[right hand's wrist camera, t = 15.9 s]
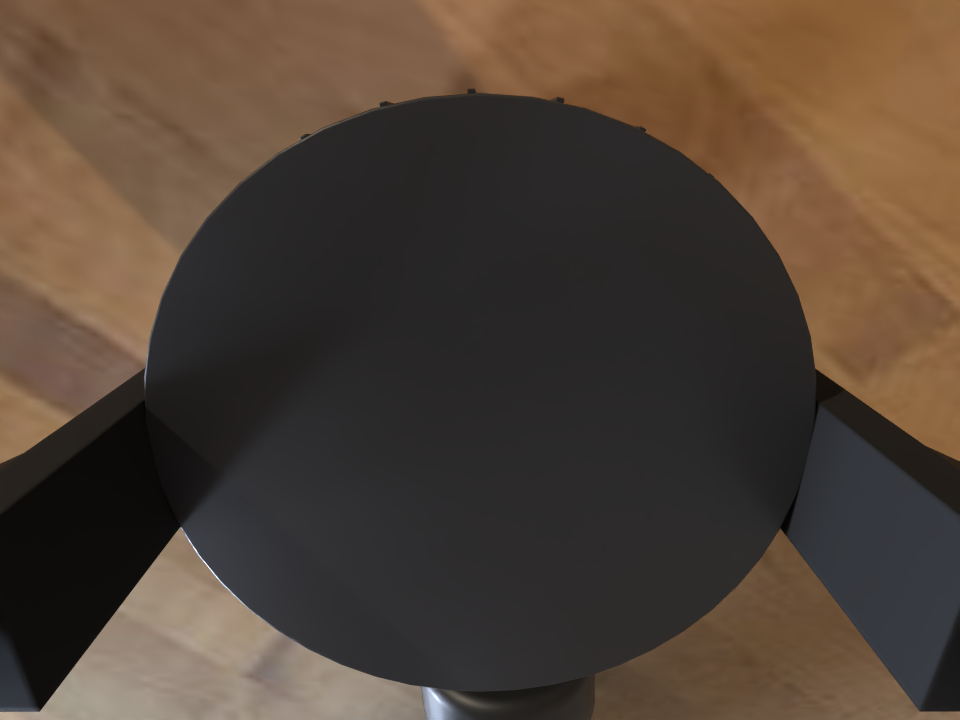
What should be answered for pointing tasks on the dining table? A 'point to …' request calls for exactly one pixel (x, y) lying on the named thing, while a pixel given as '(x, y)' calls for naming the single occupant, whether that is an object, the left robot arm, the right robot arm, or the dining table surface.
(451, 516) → the lid
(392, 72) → the dining table surface
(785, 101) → the dining table surface
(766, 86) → the dining table surface
